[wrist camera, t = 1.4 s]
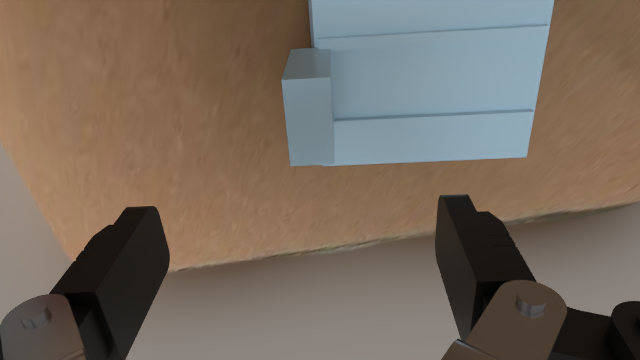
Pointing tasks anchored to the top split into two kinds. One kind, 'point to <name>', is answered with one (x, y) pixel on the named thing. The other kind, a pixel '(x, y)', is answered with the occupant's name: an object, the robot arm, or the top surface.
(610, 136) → the top surface
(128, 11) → the top surface
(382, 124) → the lid
